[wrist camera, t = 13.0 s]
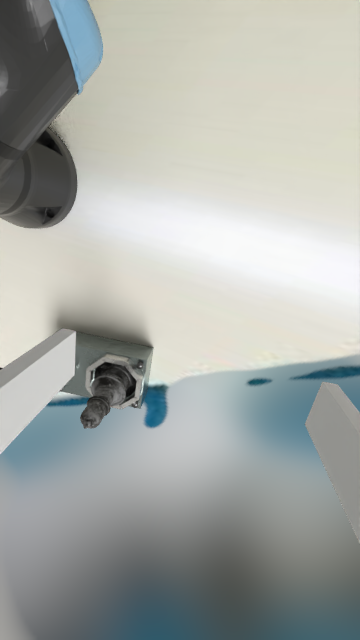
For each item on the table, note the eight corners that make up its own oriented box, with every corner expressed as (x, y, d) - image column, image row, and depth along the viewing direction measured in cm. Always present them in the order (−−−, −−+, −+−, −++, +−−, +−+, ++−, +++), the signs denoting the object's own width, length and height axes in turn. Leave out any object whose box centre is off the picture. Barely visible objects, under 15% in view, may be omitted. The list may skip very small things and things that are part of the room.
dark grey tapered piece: (115, 399, 48) (85, 452, 37) (92, 376, 47) (54, 423, 36) (138, 383, 46) (114, 433, 35) (115, 358, 45) (83, 402, 34)
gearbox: (69, 375, 54) (49, 396, 47) (70, 330, 50) (49, 346, 44) (146, 392, 53) (137, 416, 46) (153, 347, 50) (144, 366, 43)
